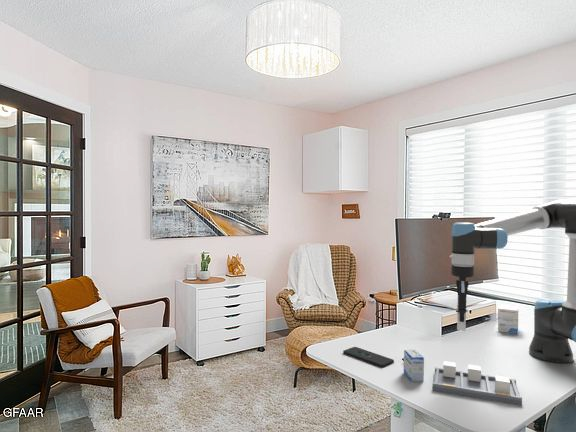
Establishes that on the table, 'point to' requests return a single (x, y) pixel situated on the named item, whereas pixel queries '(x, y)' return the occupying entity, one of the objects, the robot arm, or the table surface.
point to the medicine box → (413, 365)
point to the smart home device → (368, 357)
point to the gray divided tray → (475, 387)
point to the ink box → (508, 319)
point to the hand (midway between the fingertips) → (461, 329)
